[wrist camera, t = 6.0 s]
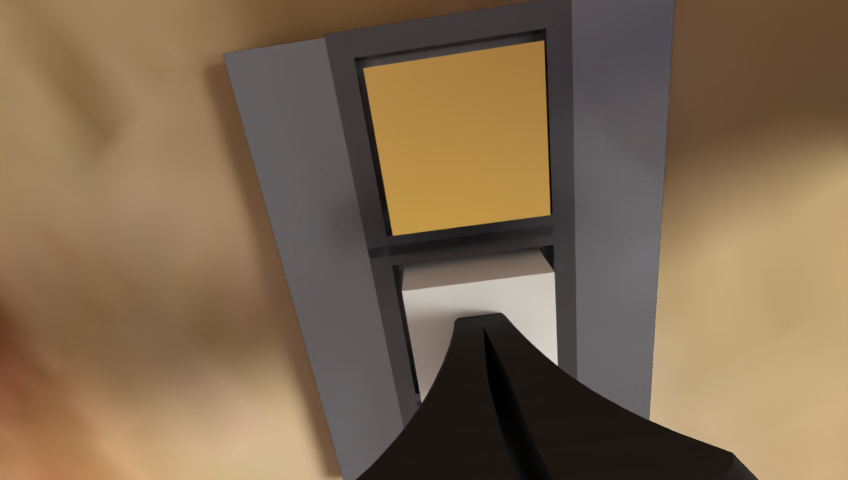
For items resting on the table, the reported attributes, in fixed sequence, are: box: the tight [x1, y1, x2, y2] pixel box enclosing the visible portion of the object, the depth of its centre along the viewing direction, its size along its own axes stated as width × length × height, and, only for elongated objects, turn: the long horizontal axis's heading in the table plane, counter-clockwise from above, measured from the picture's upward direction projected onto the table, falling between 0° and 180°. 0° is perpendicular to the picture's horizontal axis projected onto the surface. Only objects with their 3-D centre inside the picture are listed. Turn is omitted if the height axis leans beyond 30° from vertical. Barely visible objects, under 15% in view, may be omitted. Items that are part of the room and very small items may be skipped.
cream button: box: [402, 247, 558, 402], centre depth 13 cm, size 4×4×2 cm
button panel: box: [223, 0, 675, 480], centre depth 14 cm, size 12×17×3 cm
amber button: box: [363, 41, 550, 236], centre depth 11 cm, size 4×4×2 cm
